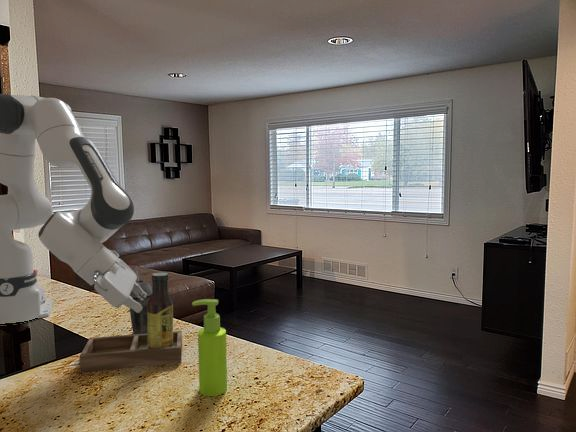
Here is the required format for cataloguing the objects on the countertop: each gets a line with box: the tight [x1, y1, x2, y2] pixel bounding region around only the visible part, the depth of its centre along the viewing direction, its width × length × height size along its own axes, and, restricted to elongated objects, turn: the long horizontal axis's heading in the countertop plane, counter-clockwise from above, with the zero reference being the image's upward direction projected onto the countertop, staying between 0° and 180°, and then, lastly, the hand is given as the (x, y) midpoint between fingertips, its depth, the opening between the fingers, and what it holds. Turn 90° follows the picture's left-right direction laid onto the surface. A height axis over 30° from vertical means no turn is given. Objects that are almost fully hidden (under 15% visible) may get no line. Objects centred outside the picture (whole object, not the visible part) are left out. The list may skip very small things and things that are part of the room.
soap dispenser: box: [191, 298, 228, 397], centre depth 95 cm, size 6×7×20 cm
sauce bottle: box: [147, 271, 174, 349], centre depth 111 cm, size 6×6×20 cm
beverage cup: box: [129, 266, 153, 335], centre depth 126 cm, size 7×7×20 cm
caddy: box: [79, 330, 183, 373], centre depth 111 cm, size 11×23×4 cm, turn 102°
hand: (143, 303), depth 111 cm, fingers open, 8 cm apart
